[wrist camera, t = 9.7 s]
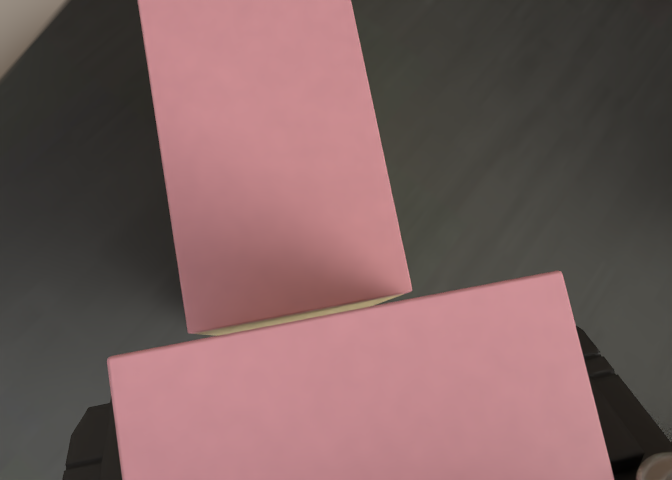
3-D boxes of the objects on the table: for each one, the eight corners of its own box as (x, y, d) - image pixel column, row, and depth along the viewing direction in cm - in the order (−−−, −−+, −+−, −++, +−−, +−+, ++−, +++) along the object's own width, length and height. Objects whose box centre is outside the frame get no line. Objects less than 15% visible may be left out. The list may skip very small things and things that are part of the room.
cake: (173, 52, 24) (124, -84, 17) (313, 35, 25) (329, -103, 17) (218, 336, 23) (187, 333, 15) (367, 307, 23) (413, 290, 16)
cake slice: (197, 348, 15) (105, 357, 7) (421, 304, 16) (562, 269, 8) (222, 510, 14) (151, 716, 6) (453, 457, 15) (643, 584, 7)
